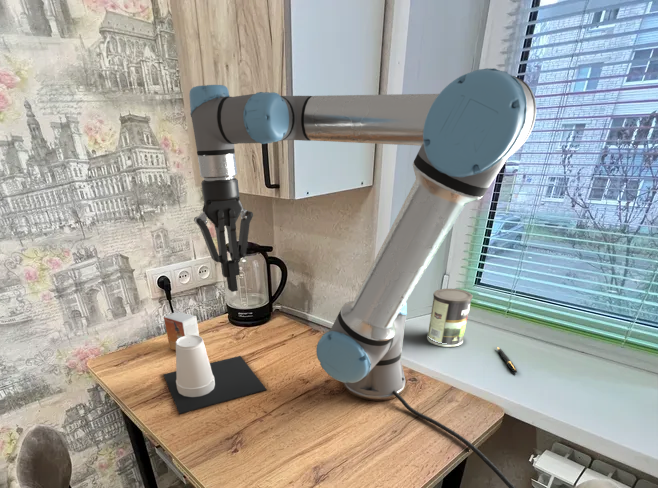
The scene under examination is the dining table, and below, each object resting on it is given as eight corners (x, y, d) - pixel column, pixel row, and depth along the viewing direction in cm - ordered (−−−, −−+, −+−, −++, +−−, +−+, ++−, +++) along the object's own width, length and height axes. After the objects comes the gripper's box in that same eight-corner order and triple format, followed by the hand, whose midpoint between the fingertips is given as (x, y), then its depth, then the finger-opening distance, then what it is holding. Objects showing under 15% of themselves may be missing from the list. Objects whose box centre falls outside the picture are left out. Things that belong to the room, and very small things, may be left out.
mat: (266, 390, 103) (266, 389, 103) (179, 414, 96) (179, 413, 96) (240, 357, 119) (240, 355, 119) (163, 375, 112) (163, 374, 111)
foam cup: (199, 351, 93) (206, 399, 100) (215, 334, 101) (220, 379, 108) (161, 347, 95) (170, 394, 102) (180, 330, 103) (187, 375, 110)
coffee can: (466, 336, 125) (476, 291, 117) (457, 350, 118) (467, 303, 110) (432, 329, 130) (439, 286, 122) (422, 342, 123) (428, 296, 115)
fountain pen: (494, 349, 118) (496, 344, 117) (499, 349, 117) (500, 344, 117) (513, 375, 105) (515, 370, 105) (518, 375, 105) (519, 370, 105)
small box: (169, 349, 125) (162, 316, 119) (183, 342, 129) (177, 310, 123) (188, 355, 121) (182, 322, 115) (201, 348, 125) (196, 315, 119)
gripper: (242, 174, 90) (252, 280, 102) (183, 180, 85) (201, 290, 98) (255, 176, 84) (264, 288, 96) (192, 182, 80) (210, 299, 92)
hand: (232, 289), depth 97 cm, fingers closed
